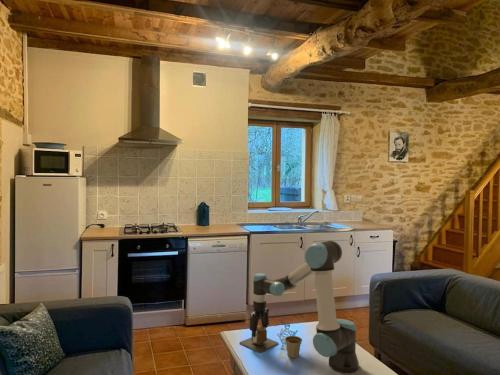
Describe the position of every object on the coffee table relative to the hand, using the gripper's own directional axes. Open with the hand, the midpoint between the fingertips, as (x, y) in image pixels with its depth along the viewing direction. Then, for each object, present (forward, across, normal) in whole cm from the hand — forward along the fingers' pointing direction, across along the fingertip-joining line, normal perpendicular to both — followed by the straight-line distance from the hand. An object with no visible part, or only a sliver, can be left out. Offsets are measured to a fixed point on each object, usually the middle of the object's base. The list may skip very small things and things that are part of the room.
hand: (259, 340), depth 213 cm
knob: (0, 0, 0) cm, 0 cm away
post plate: (+2, 0, 0) cm, 2 cm away
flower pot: (+3, -4, +22) cm, 23 cm away
